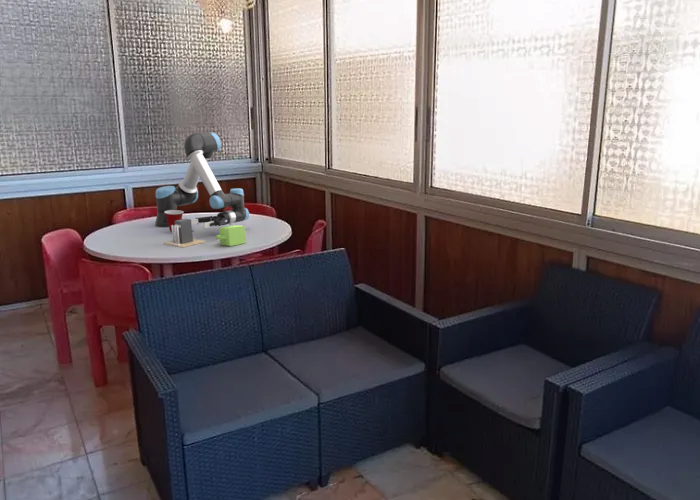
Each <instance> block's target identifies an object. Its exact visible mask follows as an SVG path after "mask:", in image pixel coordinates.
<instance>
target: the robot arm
mask: <svg viewBox="0 0 700 500" xmlns="http://www.w3.org/2000/svg"><path fill="white" fill-rule="evenodd" d="M183 143H184V144H183V150H184V154H185V156H186V157H187V160H189V161H190V163H189V166H188V168H187V170H186V172H185V174H184V175H185V176H184V177H183V180H181V181H179V183H178V184H177V187H175V186H174V185H166V186H165V185H164V186H161V187H158V188H156V190H155V200H156V211H157V213H156V214H157V215H156V218H155V219H156V220H155V227H158V228H169V225H168V221H167V217H166V214H165V211H168V210H178V208H177V207H181V206H186V205H191V204H194V203H196V202H197V200H198V198H199V190H198V186H197V185H198V183H199V180H200V181H201V182H202V184H203V185H204V188H205V189H206V192H207V193H208V194H209V196H210V197H209V205H210V207H211V208H212V209H214V210H218V209H219V210H220V209H225V208H229V207H231V210H225V211H221V212H218V214H217V215H210V216H202V217H201V216H200V217H195V218H194V219H190V220H191V224H192V226H193V225H199V224H202V223H203V228H204V229H207V228H212V227H222V226H226V225H229V226H232V224H234V223H235V224H236V223H240V222H244V221H247V220H248V219H249V217H250V212H249V209H248V208H246V207H245V193H244V189H243V188H240V187H239V188H230V191H229V192H228V193H224V191H223V189H222V188H221V186H220V183H219V182H218V181H217V178H216V176H215V174H214V173H213V171H212V169H211V167H210V166H209V164H208V160H209V159H212V157H213V156H214V153H217V152H219V151H220V150H221V146H222V143H221V139H220V137H219V135H218V133H217V134H216V133H215V132H210V131H208V132H200V133H199V132H197V133H191V134H189V135H188V136H187V137H186V138H185V139H184V142H183Z"/></svg>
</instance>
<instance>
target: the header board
mask: <svg viewBox="0 0 700 500" xmlns="http://www.w3.org/2000/svg"><path fill="white" fill-rule="evenodd" d="M171 227H172V232H171V235H172V236H171V237H172V240H171V241H167V242H164V243H163V245H168V246H174V247H178V248H187V247H191V246H195V245H199V244H203V243H206V240H202V239H196V238H195V239H194V238H193V242H189V243H184V244H180V241H179V230H178V226H174V227H173V225H171ZM176 230H177V234H176ZM177 241H178V243H177Z"/></svg>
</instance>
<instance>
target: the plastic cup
mask: <svg viewBox="0 0 700 500" xmlns="http://www.w3.org/2000/svg"><path fill="white" fill-rule="evenodd" d="M184 212H185V211H183V210H178V209H177V210H168V211H165V214H166V217H167V221H168V225H169V227H168V229H169V231H170V232H171V233H172V227H171V225H173V227H174V226H175V221H176V220H181V219H183V215H184Z"/></svg>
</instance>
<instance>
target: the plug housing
mask: <svg viewBox="0 0 700 500" xmlns="http://www.w3.org/2000/svg"><path fill="white" fill-rule="evenodd" d="M191 220H192V219H191V218H190V219H189V218H182V219H181V220H176V221H175V226H178V230H179V241H180V244H184V243H189V242H193V239H194V238H193V237H194V235H193V225H192V224H191ZM176 234H177V230H176ZM177 243H178V241H177Z"/></svg>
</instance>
